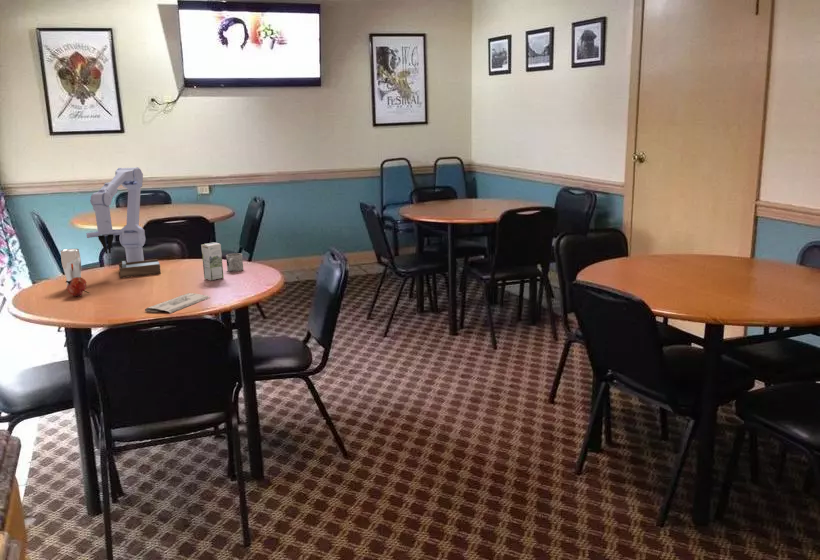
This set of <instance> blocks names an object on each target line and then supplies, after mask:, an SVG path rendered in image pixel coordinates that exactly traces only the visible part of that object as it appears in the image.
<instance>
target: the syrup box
mask: <svg viewBox="0 0 820 560" xmlns="http://www.w3.org/2000/svg"><path fill="white" fill-rule="evenodd" d="M200 247H201V256H202V257H201V258H202V267H203V277H204V280H206V279H208V280H207V281H211V280H212V281H217V280H216V279H218V280H221V278H223V279H224V268H223V267H224V266H223V254H222V244H221V243H218V242H209V243H204V244H200Z"/></svg>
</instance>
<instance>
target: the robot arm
mask: <svg viewBox="0 0 820 560" xmlns="http://www.w3.org/2000/svg"><path fill="white" fill-rule="evenodd" d="M114 172H115V173H114V176H113V178H111V180H110V181H109V182H104V183H103V186H101V188H99V190H98V191H97V192H93V193H92V194H91V196H90V200H89V201H90V204H91V206H92V209H93V211H94V213H95V221H96V228H97V229H96V230H97V231H94V232H93V231H92V232H86V239H89V238H98V241H99V242H100V243H101V246H102V247H103V249H104V252H105V254H111V252H112V245H113V241H114V236H119V243H120V245H121V246H122V247H123V248H124V251H125V257H126V263H127V262H136V261H145V257H144V251H143V249H144V248H143V246H144V245H145V244H146V241H147V239H146V232H145V231H146V230H145V229H144V228H143V227H142V226H140V211H141V209H140V207H141V188H142V187H143V182H144V181H143V180H144V173H143V172H142V169H141V168H140V167H137V166H136V167H118V168H117V169H116V170H115V171H114ZM120 186H122V187H123V188H125V189H127V191H128V192H127V207H126V208H127V210H126V224H125V226H123V227H122V228H121V229H113V225H112V223H113V222H112V216H111V215H112V214H111V210H110V209H111V208H110V206H111V204H112V201H113V197H115V195H116V194H117V193H118V191H119V190H118V188H119V187H120ZM106 238H107V244H106ZM107 245H108V249H107Z"/></svg>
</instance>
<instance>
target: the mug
mask: <svg viewBox="0 0 820 560" xmlns="http://www.w3.org/2000/svg"><path fill="white" fill-rule="evenodd" d="M225 257H226V259H225V260H226V269H227V272H230V271H235V272H240V271H243V270H244V262H243V254H242V253H238V252H234V253H228V254H226V255H225Z"/></svg>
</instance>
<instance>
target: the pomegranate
mask: <svg viewBox="0 0 820 560" xmlns="http://www.w3.org/2000/svg"><path fill="white" fill-rule="evenodd" d="M65 283H66V290H67V292H68V293H69V294H70V295H71V296H73V297H76V296H79V297H81V296H82V295H83V293H87V294H89V293H90V292H88V291H86V288H87V281H86V279H84V277H82V276H81V277H75V278H73V279H72V280H70V281H67V280H66V281H65ZM67 283H68V285H67Z"/></svg>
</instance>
